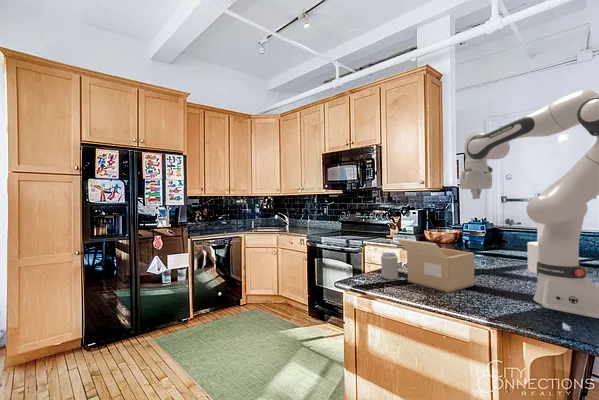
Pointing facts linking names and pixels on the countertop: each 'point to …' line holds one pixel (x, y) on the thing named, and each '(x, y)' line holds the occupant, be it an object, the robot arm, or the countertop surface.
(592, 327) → the countertop surface
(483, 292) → the countertop surface
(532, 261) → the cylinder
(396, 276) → the can
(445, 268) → the carton
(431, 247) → the flap
